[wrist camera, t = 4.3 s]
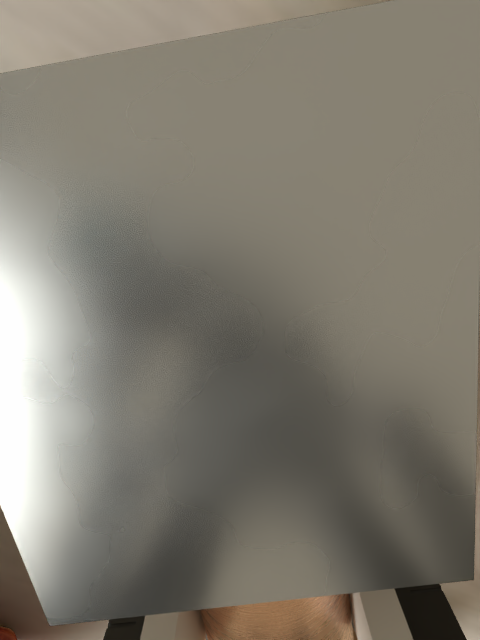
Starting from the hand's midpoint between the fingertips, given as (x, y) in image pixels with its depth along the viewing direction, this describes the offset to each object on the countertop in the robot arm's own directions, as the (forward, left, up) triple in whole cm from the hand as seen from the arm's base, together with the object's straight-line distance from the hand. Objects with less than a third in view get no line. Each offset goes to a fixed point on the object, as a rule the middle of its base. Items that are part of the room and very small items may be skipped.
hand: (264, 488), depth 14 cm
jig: (0, -1, -3) cm, 3 cm away
